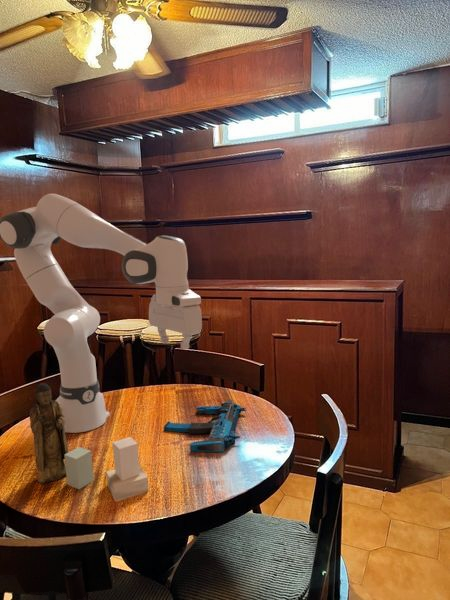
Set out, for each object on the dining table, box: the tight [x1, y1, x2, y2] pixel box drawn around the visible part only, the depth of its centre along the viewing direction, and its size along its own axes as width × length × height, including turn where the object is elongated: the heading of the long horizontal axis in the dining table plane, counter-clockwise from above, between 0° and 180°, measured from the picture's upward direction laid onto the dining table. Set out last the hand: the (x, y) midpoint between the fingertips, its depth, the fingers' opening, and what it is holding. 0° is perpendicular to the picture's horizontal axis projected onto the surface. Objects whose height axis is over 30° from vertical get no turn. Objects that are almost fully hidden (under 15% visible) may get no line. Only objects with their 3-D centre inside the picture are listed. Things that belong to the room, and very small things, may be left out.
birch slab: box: [105, 464, 150, 503], centre depth 105 cm, size 8×8×4 cm
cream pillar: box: [112, 436, 140, 481], centre depth 104 cm, size 4×4×8 cm
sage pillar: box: [64, 446, 95, 490], centre depth 108 cm, size 4×4×8 cm
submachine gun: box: [163, 398, 247, 453], centre depth 138 cm, size 34×4×25 cm
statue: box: [29, 382, 69, 485], centre depth 109 cm, size 9×9×25 cm
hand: (174, 345), depth 119 cm, fingers open, 8 cm apart
